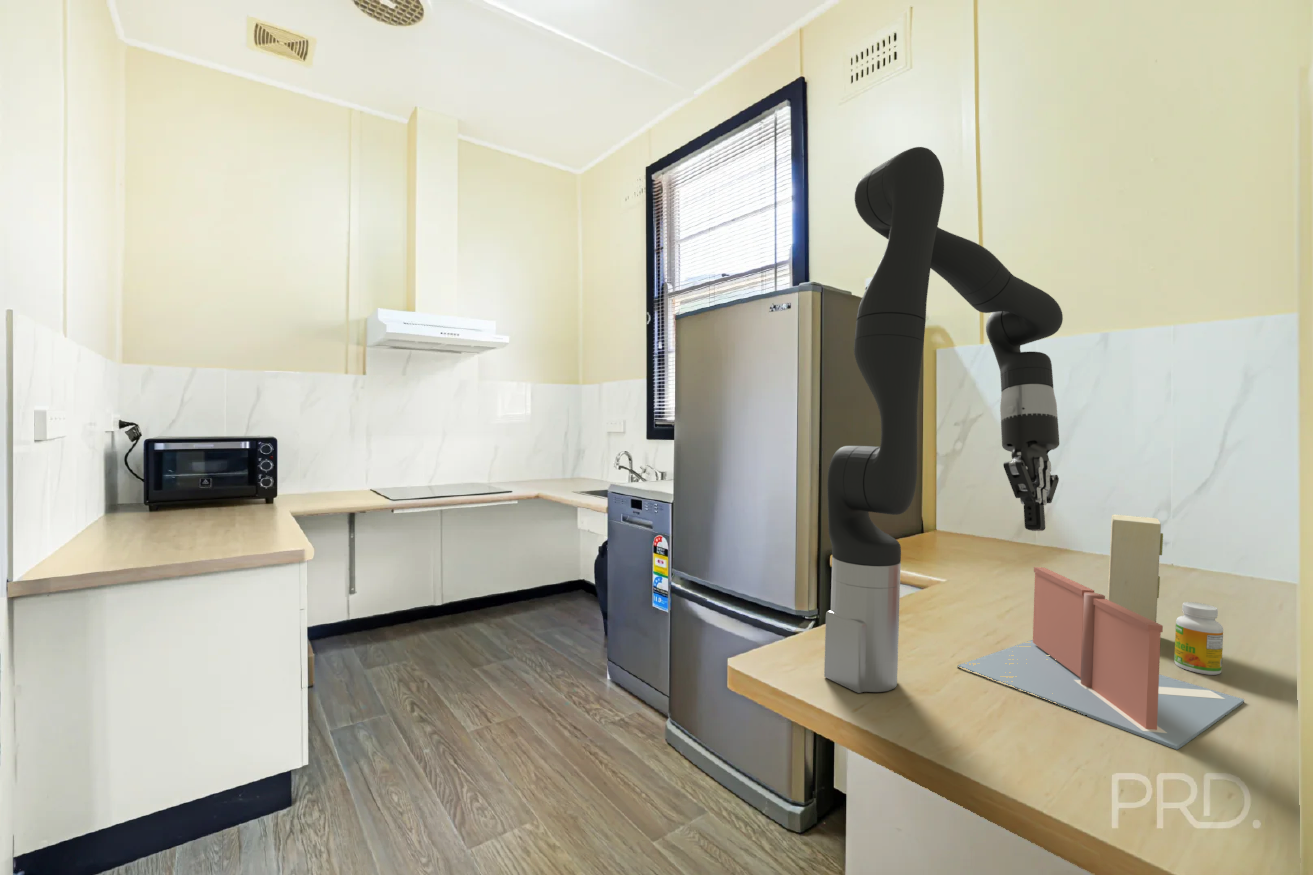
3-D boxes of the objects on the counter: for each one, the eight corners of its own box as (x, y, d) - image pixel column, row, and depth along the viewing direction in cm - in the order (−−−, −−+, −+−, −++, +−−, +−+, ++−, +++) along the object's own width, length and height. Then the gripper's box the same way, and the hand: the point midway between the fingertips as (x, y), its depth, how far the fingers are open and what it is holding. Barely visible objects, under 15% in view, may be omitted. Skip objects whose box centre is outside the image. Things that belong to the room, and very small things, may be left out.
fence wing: (1091, 678, 85) (1094, 590, 84) (1079, 677, 85) (1082, 589, 84) (1041, 642, 98) (1044, 567, 98) (1031, 642, 99) (1033, 567, 98)
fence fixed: (1162, 733, 71) (1166, 624, 71) (1140, 731, 71) (1144, 622, 71) (1095, 685, 84) (1098, 592, 84) (1076, 683, 85) (1080, 591, 84)
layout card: (1177, 749, 67) (1177, 745, 67) (957, 667, 89) (957, 664, 89) (1244, 702, 80) (1244, 698, 80) (1036, 640, 102) (1036, 638, 102)
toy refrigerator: (1161, 648, 99) (1166, 523, 99) (1106, 638, 104) (1110, 518, 103) (1158, 635, 106) (1162, 518, 105) (1106, 626, 110) (1110, 513, 110)
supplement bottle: (1164, 661, 94) (1167, 600, 93) (1196, 661, 94) (1198, 600, 94) (1198, 675, 88) (1200, 611, 88) (1231, 675, 89) (1234, 611, 88)
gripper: (1034, 403, 86) (1042, 522, 81) (1074, 424, 93) (1083, 535, 89) (982, 412, 92) (986, 524, 88) (1023, 432, 99) (1029, 536, 95)
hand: (1035, 529), depth 88 cm, fingers closed
